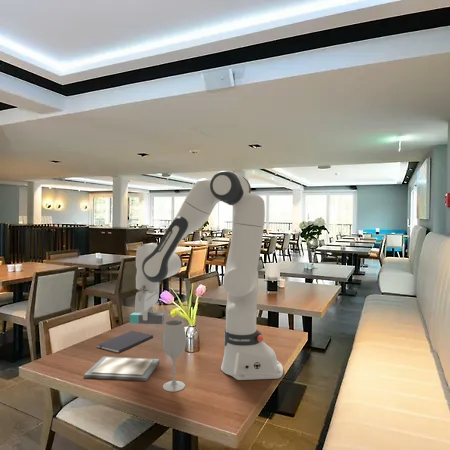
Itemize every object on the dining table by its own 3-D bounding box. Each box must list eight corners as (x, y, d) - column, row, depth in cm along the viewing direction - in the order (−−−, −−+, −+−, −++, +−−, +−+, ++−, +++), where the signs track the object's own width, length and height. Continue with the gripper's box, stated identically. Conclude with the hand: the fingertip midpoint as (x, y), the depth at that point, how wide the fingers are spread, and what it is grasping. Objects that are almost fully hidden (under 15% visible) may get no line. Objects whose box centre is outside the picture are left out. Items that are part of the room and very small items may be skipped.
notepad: (159, 361, 139) (159, 358, 139) (146, 380, 124) (146, 376, 124) (103, 359, 141) (103, 355, 141) (83, 377, 125) (83, 373, 125)
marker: (164, 321, 148) (164, 313, 148) (162, 324, 144) (162, 315, 144) (132, 320, 149) (132, 312, 149) (130, 323, 145) (130, 314, 145)
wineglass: (157, 386, 120) (157, 322, 119) (176, 379, 125) (176, 318, 124) (171, 394, 114) (171, 328, 114) (190, 386, 120) (190, 323, 119)
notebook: (118, 354, 148) (152, 338, 167) (118, 350, 148) (152, 335, 166) (96, 348, 154) (131, 333, 172) (96, 344, 154) (131, 330, 172)
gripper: (147, 289, 135) (147, 326, 136) (161, 279, 156) (161, 311, 156) (130, 288, 136) (130, 325, 136) (147, 279, 156) (147, 311, 157)
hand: (147, 318), depth 147 cm, fingers closed on marker, 3 cm apart
